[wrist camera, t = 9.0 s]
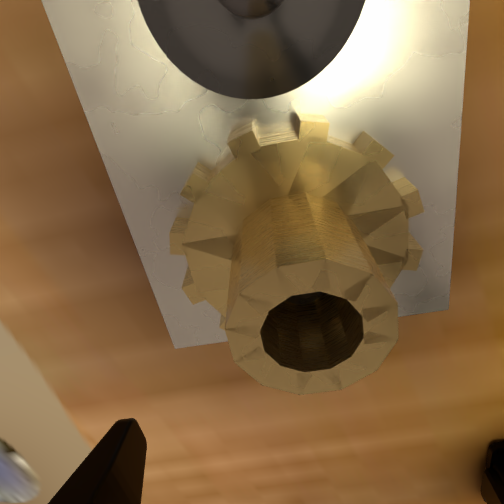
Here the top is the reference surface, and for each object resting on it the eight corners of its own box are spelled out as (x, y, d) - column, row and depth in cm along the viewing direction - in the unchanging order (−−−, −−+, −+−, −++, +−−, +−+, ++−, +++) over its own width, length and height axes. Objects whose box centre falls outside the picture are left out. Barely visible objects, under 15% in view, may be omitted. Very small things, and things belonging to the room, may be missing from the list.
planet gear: (411, 90, 14) (516, 126, 8) (409, 309, 19) (475, 425, 13) (146, 142, 15) (81, 206, 9) (208, 338, 20) (190, 457, 14)
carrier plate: (469, -295, 11) (631, -544, 6) (438, 295, 20) (491, 370, 16) (-2, -159, 12) (-160, -280, 7) (178, 333, 21) (158, 413, 17)
